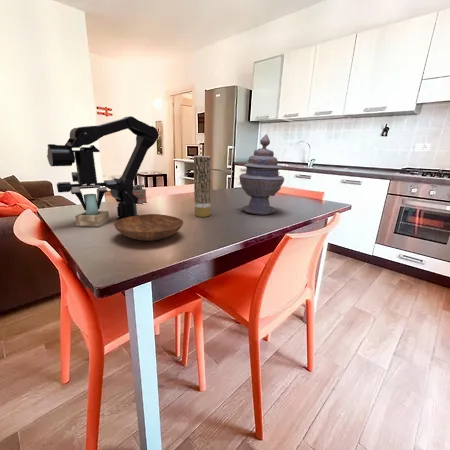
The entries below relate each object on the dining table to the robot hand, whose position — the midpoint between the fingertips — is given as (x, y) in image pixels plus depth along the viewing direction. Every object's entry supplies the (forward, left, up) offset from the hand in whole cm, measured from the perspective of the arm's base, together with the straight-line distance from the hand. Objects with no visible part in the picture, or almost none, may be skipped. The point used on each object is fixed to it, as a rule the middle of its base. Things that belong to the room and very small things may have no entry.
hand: (92, 209), depth 89 cm
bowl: (-25, +13, -6) cm, 29 cm away
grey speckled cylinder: (-39, -16, -6) cm, 43 cm away
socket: (0, 0, -6) cm, 6 cm away
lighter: (-4, -38, -6) cm, 39 cm away
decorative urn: (-65, -25, -6) cm, 70 cm away
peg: (0, 0, -4) cm, 4 cm away
